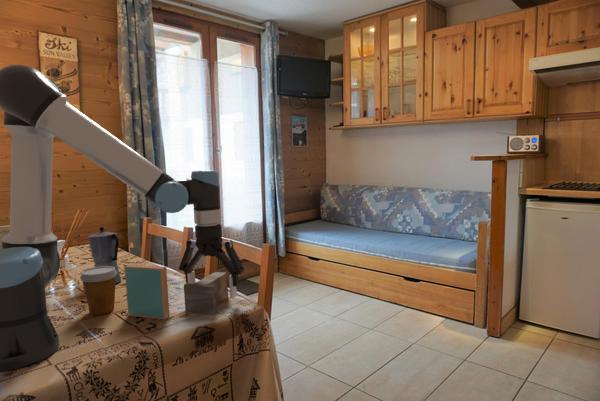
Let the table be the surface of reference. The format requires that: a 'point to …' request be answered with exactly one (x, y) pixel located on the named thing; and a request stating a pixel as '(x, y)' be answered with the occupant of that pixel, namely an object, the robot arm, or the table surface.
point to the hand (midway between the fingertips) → (212, 295)
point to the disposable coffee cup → (99, 288)
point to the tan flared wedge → (206, 294)
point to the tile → (147, 291)
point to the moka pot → (105, 250)
